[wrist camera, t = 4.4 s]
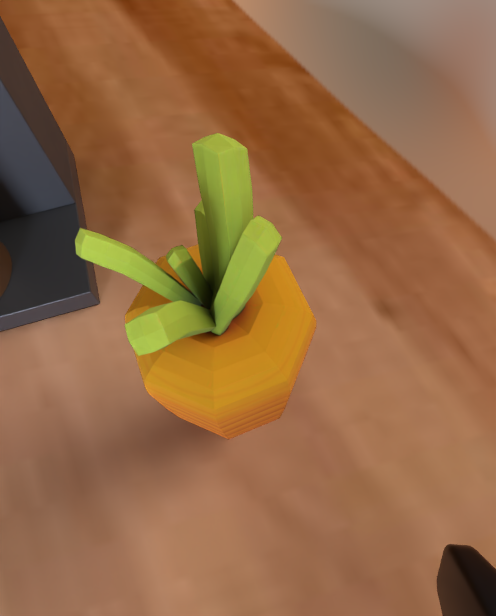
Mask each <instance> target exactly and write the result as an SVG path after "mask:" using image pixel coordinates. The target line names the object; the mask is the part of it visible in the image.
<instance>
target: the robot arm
mask: <svg viewBox="0 0 496 616" xmlns="http://www.w3.org/2000/svg"><path fill="white" fill-rule="evenodd" d="M437 592H438V597H439V601H440V605H441V610H442V614H443V616H496V569H495V568H494V567H493V566H492V565H491V564H490V563H489V562H488V561H487V560H486V559H485V558H484V557H483V556H482V555H481V554H480V553H479V552H478V551H477V550H475V549H474V548H473V547H471V546H467V545H454V544H449V545H447V546H446V547H445V549H444V551H443V555H442V559H441V564H440V568H439V572H438V576H437Z"/></svg>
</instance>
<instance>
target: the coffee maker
mask: <svg viewBox="0 0 496 616" xmlns="http://www.w3.org/2000/svg"><path fill="white" fill-rule="evenodd" d="M80 228H82V229H85V230H87V226H86V221H85V215H84V210H83V204H82V198H81V193H80V187H79V181H78V176H77V170H76V165H75V159H74V154H73V153H72V151H71V149H70V147H69V145H68V143H67V141H66V139H65V138H64V136H63V134H62V132H61V130H60V128H59V126H58V124H57V122H56V121H55V119H54V117H53V115H52V113H51V111H50V109H49V107H48V105H47V104H46V102H45V100H44V98H43V96H42V94H41V92H40V90H39V89H38V87H37V85H36V83H35V81H34V79H33V77H32V75H31V73H30V72H29V70H28V68H27V66H26V64H25V62H24V60H23V58H22V56H21V55H20V53H19V51H18V49H17V47H16V45H15V43H14V41H13V40H12V38H11V36H10V34H9V32H8V30H7V28H6V26H5V24H4V23H3V21H2V19H1V17H0V331H3V330H7V329H10V328H14V327H18V326H21V325H25V324H28V323H32V322H36V321H39V320H43V319H46V318H50V317H53V316H57V315H61V314H64V313H68V312H71V311H75V310H78V309H82V308H86V307H89V306H93V305H96V304H99V303H100V300H99V294H98V288H97V283H96V277H95V272H94V266H93V262H90V261H88V260H85V259H83V258H81V257H79V256H78V255H77V254H76V246H75V239H76V236H77V234H78V231H79V229H80Z"/></svg>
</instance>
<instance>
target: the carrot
mask: <svg viewBox="0 0 496 616" xmlns="http://www.w3.org/2000/svg"><path fill="white" fill-rule="evenodd" d="M192 146H193V152H194V158H195V164H196V170H197V177H198V183H199V188H200V193H201V198H202V200H201V202H200V203H199V204H198V206H197V207H196V208H195V210H194V211H195V219H196V228H197V237H198V245H195V246H192V247H189V248H185V247H184V246H183V245H181V246H177V247H174V248H172V249H171V250H170V251H169V252H168V254H167V255H166V256H163V257H160V258H159V259H158V261H157V262H156V264H155V263H154V262H152V261H151V260H149V259H148V258H146V257H145V256H143V255H142V254H140V253H139V252H137V251H136V250H134V249H133V248H132V247H130V246H127V245H125V244H123V243H120V242H118V241H116V240H113V239H111V238H108V237H106V236H104V235H101V234H99V233H95V232H92V231H89V230H85V229H82V228H80V229H79V231H78V234H77V236H76V239H75V246H76V254H77V255H78V256H79V257H81V258H83V259H85V260H88V261H90V262H93V263H95V264H98V265H100V266H103V267H106V268H108V269H111V270H114V271H116V272H119V273H122V274H124V275H126V276H128V277H130V278H132V279H133V280H135V281H137V282H139V283H141V284H143V286H142V288H141V289H140V291H139V293H138V294H137V296H136V298H135V299H134V301H133V303H132V304H131V306H130V308H129V309H128V311H127V313H126V314H125V322H126V324H125V328H126V332H127V336H128V340H129V342H130V344H131V346H132V347H133V349H134V352H135V356H136V359H137V362H138V366H139V369H140V372H141V376H142V379H143V382H144V386H145V388H146V390H147V392H148V393H149V394H150V395H151V396H152V397H153V398H154V399H156V400H157V401H158V402H159V403H160V404H161V405H163V406H164V407H165V408H166V409H168V410H169V411H171V412H172V413H174V414H175V415H176V416H178V417H179V418H182V419H184V420H186V421H188V422H191V423H193V424H195V425H197V426H200V427H202V428H204V429H206V430H209V431H211V432H213V433H215V434H218V435H220V436H222V437H224V438H227V439H231V438H233V437H236V436H238V435H240V434H243V433H245V432H248V431H250V430H252V429H255V428H257V427H260V426H262V425H265V424H267V423H269V422H272V421H274V420H276V419H279V418H280V416H281V415H282V413H283V411H284V409H285V407H286V404H287V401H288V399H289V396H290V394H291V391H292V389H293V386H294V384H295V381H296V379H297V376H298V373H299V371H300V368H301V366H302V363H303V361H304V358H305V356H306V353H307V350H308V348H309V345H310V342H311V340H312V337H313V334H314V332H315V329H316V320H315V317H314V315H313V313H312V311H311V309H310V307H309V305H308V303H307V301H306V299H305V298H304V296H303V294H302V292H301V290H300V288H299V286H298V284H297V282H296V280H295V278H294V276H293V274H292V272H291V270H290V268H289V266H288V264H287V262H286V260H285V258H284V257H281V256H278V255H275V252H276V250H277V248H278V246H279V244H280V241H281V239H282V237H281V236H280V234H279V233H278V231H277V230H276V228H275V227H274V225H273V224H272V223H271V222H269V221H267V220H266V219H264V218H262V217H261V216H257V217H255V218H254V219H253V199H252V185H251V177H250V169H249V161H248V153H247V148H245V147H244V146H243V145H241V144H240V143H239V142H237V141H236V140H235V139H232V138H229V137H227V136H224V135H222V134H219V133H216V134H213V135H210V136H206V137H204V138H202V139H200V140H198V141H196V142H194V143H193V144H192Z"/></svg>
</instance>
